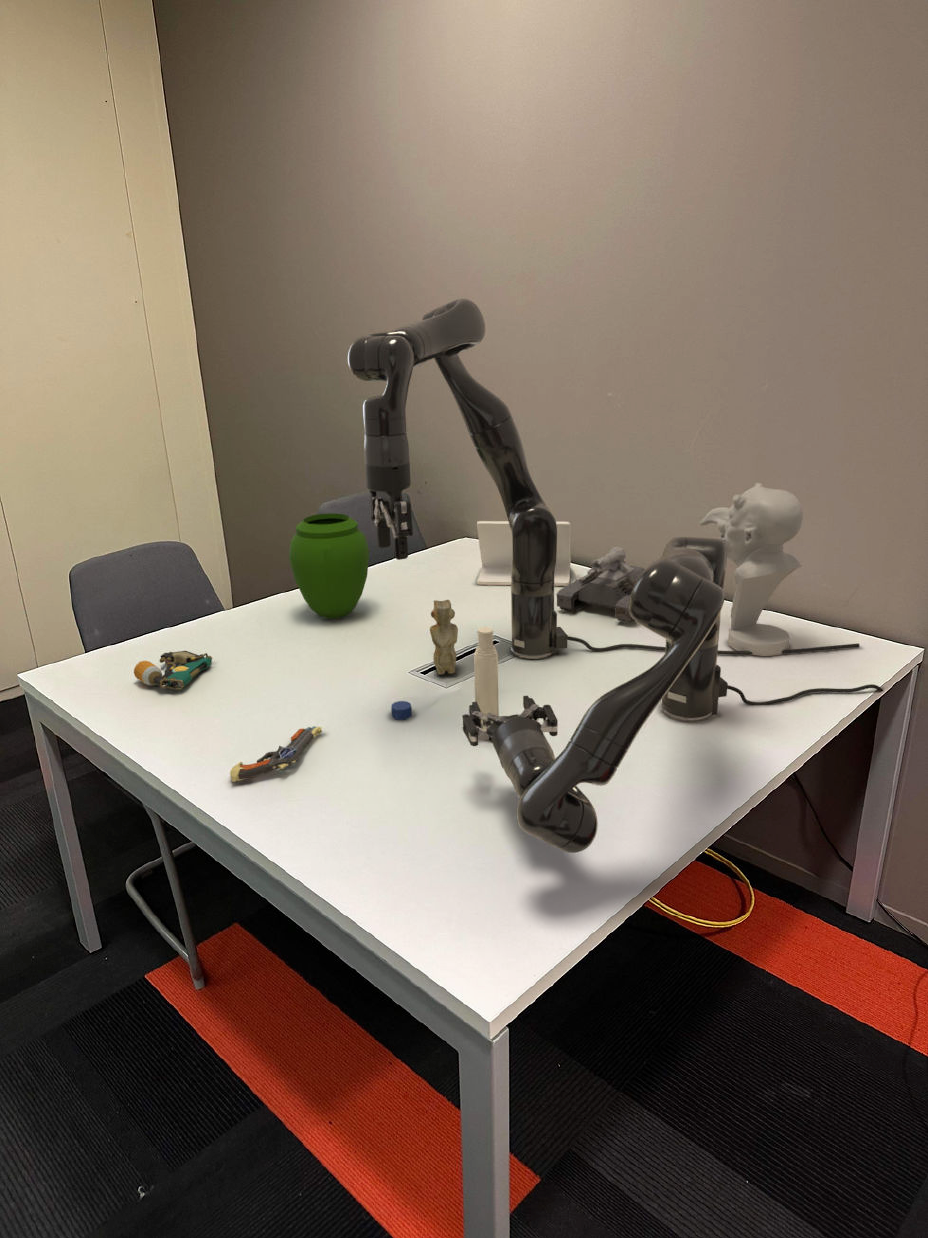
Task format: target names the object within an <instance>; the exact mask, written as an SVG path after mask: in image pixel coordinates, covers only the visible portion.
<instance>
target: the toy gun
mask: <svg viewBox="0 0 928 1238" xmlns="http://www.w3.org/2000/svg"><path fill="white" fill-rule="evenodd" d="M322 732H323V730H322V726H316V725H314V726H307V727H306V728H299V729H298V730H297V731H296V732H295V733H294V734H293V735H292V736H291V737H290V743H289V744H287V745H286V746H281V745H279V746H278V749H277V750H275V751H267V752H266V753H265V754H264V755H263V756H262V757H260V758H259V759H257V760H256V762H254V763H250V764H244V763H243V762H242V761H239V762H238V763H236V764H235V765H233V766H232V768H231V769H230V772H229V775H230V778H231V782H232V781H233V782H238V781H242V780H246V779H252V778H255V777H257V776H260V775H264V774H268V773H271V772H274V771H277V770H279V769H280V770H284V769H285V768H286V767H288V766H289V765H291V764H294V763H296V761H297V760H299V758H300V757H301V756H302V754H303V752H304V750H305V748H306V747H308V745H309V744H310V743H311V742H312V741H313V740H314V739H315V738H316V737H317V736H318V735H320V734H322Z"/></svg>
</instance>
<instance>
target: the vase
mask: <svg viewBox="0 0 928 1238" xmlns="http://www.w3.org/2000/svg"><path fill="white" fill-rule="evenodd" d="M358 524H359V523H358V521H356V520H355V519H353V518H352V517H350V516H349V515H347V514H344V513H335V512H334V513H333V512H331V513H320V514H313V515H310V516H307V517H305V518H303V519H302V520H301V521H300V522H299V523H298V524H297V525H296V526H295V532H296V533H295V534H294V536H293V537H292V538H291V540H290V542H289V551H288V559H289V564H290V566H291V567H290V568H291V570H292V575H293V578H294V581H295V584H296V586H297V587H298V589H299V591H300V593H301V596H302V597H303V600H304V601H305V603H306V604H307V605H308V607H309V608H310V609H311V611H312V612H314V613H315V614H316V615H317V616H318V617H320V618H324V619H326V620H327V619H329V620H336V619H341V618H345V617H347V616H349V615H350V614H351V613H352V612H353V611H354V610H355V608H356V607H357V605H358V604H359V601H360V599H361V597H362V595H363V592H364V588H365V586H366V581H367V578H368V570H369V561H370V560H369V559H370V548H369V545H368V541H367V537H366V535H365V534H364V533H363V532H362V531H361V530H360V529H359V527H358Z"/></svg>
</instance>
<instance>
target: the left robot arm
mask: <svg viewBox="0 0 928 1238" xmlns="http://www.w3.org/2000/svg"><path fill="white" fill-rule="evenodd" d="M485 334H486V323H485V320H484V316H483V314H482V311H481V310H480V308H479V307H478V305H477V304H476V303H475V302H474V301H473V300H471V299H469V298H457V299H454V300H452V301H450V302H448V303H445V304H443V305H441V306H439V307H437V308H434V309H432V310H431V311H428V312H426V313H425V314H424V315H423V316H422V319H421V320H418V321H415V322H412V323H409V324H406V325H403V326H400V327H397V328H396V329H393V330H390V331H383V332H376V333H369V334H365V335H361V336H359V337H357V338H356V339H355V340H354V341H353V342H352V344H351V345H350V347H349V349H348V353H347V364H348V367H349V369H350V371H351V373H352V374H353V375H354V376H355V377H356V378H357V379H359V380H362V381H365V382H386V386H385V390H384V392H383V393H382V394H379V395H374V396H371V397H368V398H366V399H365V400H364V401H363V404H362V416H363V431H364V443H363V450H364V451H363V452H364V453H363V454H364V467H365V481H366V482H365V483H366V488H367V489H368V490H369V502H370V503H369V504H370V520H371V521H372V522H374V526H375V527H376V538H377V546H378V547H379V548H380V549H382V548H389V547H391V544H392V543H391V542H392V541H391V533H392V537H393V552H394V558H395V559H396V560H397V561H398V560H406V559H408V557H409V547H408V538H409V537H412V536H414V531H413V518H412V517H413V516H412V504H411V503H412V502H411V501H410V500H404V499H403V494H402V493H403V491H404V490H407V489H409V488H410V487H411V485H412V483H411V482H412V481H411V463H410V462H411V461H410V446H409V440H408V433H407V432H408V431H407V416H406V413H407V412H406V408H407V401H408V393H409V388H410V383H411V379H412V375H413V370H414V369H415V368H417V367H419V366H420V367H421V365H424V364H425V363H427V362H429V361H431V360H434V362H435V363H436V365H437V367H438V370H439V371H440V373H441V375H442V377H443V378H444V380H445V382H446V384H447V386H448V387H449V390H450V392H451V394H452V396H453V398H454V400H455V403H456V406H457V407H458V409H459V412H460V415H461V416H462V419H463V422H464V424H465V427H466V429H467V432H468V434H469V436H470V439H471V441H472V443H473V446H474V448H475V450H476V452H477V454H478V457H479V458H480V460H481V462H482V464H483V466H484V467H485V469H486V471H487V472H488V474H489V476H490V478H491V479H492V481H493V482H494V484H495V486H496V488H497V491H498V492H499V495H500V498H501V501H502V503H503V507H504V510H505V513H506V518H507V521H509V526H510V529H511V532H512V543H513V559H512V565H511V585H510V588H511V589H510V597H511V599H510V603H511V604H510V606H511V607H510V609H511V610H510V615H511V617H510V618H511V621H510V622H511V643H510V644H511V647H510V651H511V653H512V655H513V656H515V657H518V658H521V659H525V660H526V659H527V660H540V659H545V658H548V657H550V656H552V655H557V654H558V653H557V650H562V649H564V650H565V649H568V645H569V643H568V641H571V642H576V643H580V644H582V645H584V646H585V648H587V649H588V650H590V651H592V652H598V653H599V652H607V651H612V650H615V649H616V650H617V649H627V648H628V649H641V650H642V649H643V650H650V651H664V652H665V648H666V646H659V645H658V646H656V645H649V644H648V645H645V644H637V643H636V644H635V643H619V644H614V645H610V646H605V647H595V646H592V645H590V643H589V642H588V641H586V640H584V639H582V638H579V637H574V636H568V634H567V633H566V631H565V630H564V629H563V628H562V627H561V626H558V613H557V612H556V611H555V586H554V571H555V567H556V556H557V524H556V522H557V520H556V517H555V516H554V514H553V513H552V512H551V509H550V508H549V507H548V505H547V503H545V501H544V499H543V498H542V495H541V494H540V493H539V490H538V489H537V486H536V484H535V482H534V480H533V478H532V476H531V473H530V470H529V468H528V464H527V463H528V462H527V459H526V453H525V449H524V446H523V443H522V439H521V436H520V433H519V430H518V428H517V425H516V423H515V421H514V418H513V415H512V413H511V410H510V409H509V407H508V406H507V404H506V403H505V402H504V401H503V400H502V399H501V398H500V397H499V396H497V395H496V394H495V393H494V392H492V391H491V390H489V389H488V388H487V387H485V385H483V384H481V383H480V382H479V381H477V380H476V378H474V377H473V376H472V374H470V372H469V370H468V369H467V368H466V366H465V365H464V363H463V362H462V360H461V358H460V356H459V354H460V353H463V352H466V351H468V350H471V349H473V348H475V347H476V346H478V345H479V344H481V342H482V341H483V339H484V338H485ZM853 648H855V649H856V648H860V643H847V644H837V645H828V646H827V645H826V646H825V645H824V646H816V647H805V648H791V649H790V648H789V649H788V650H783V651H782V652H781V653H782V654H781V655H784V654H799V653H810V652H821V651H832V650H842V649H843V650H845V649H853ZM752 654H753V653H752V652H750V651H737V650H719V649H718V654H717V655H725V656H726V655H728V656H729V655H730V656H731V655H732V656H733V655H734V656H749V655H750V656H753V655H752Z"/></svg>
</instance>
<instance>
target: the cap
mask: <svg viewBox="0 0 928 1238" xmlns="http://www.w3.org/2000/svg"><path fill="white" fill-rule="evenodd" d="M390 711H391V717H392V719H394V720H398V721H405V720H408V719H410V718H411V717H412V715H413V708H412V704H411V702H409V701H405V700H398V701H395V702H393V703H392V704H391V706H390Z"/></svg>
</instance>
